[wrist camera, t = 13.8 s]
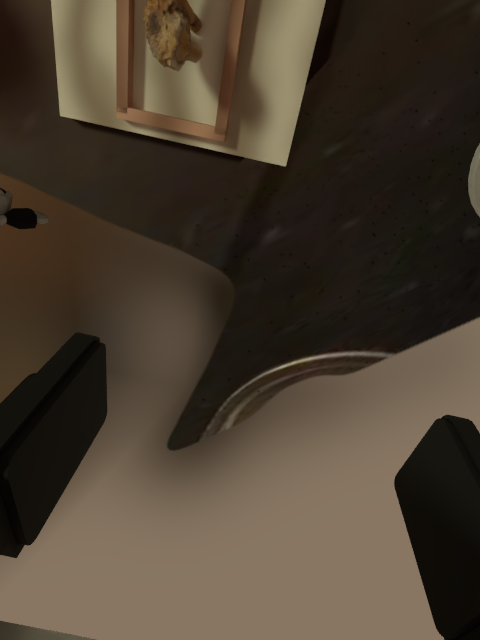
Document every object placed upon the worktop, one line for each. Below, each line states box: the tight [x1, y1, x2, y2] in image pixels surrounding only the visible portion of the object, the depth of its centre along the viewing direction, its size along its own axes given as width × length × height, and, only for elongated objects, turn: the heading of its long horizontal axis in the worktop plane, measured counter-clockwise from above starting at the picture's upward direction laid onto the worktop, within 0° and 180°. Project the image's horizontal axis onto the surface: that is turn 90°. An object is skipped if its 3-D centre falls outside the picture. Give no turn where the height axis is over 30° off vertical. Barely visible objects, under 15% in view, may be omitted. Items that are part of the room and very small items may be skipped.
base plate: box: [51, 0, 326, 166], centre depth 28 cm, size 22×20×3 cm
